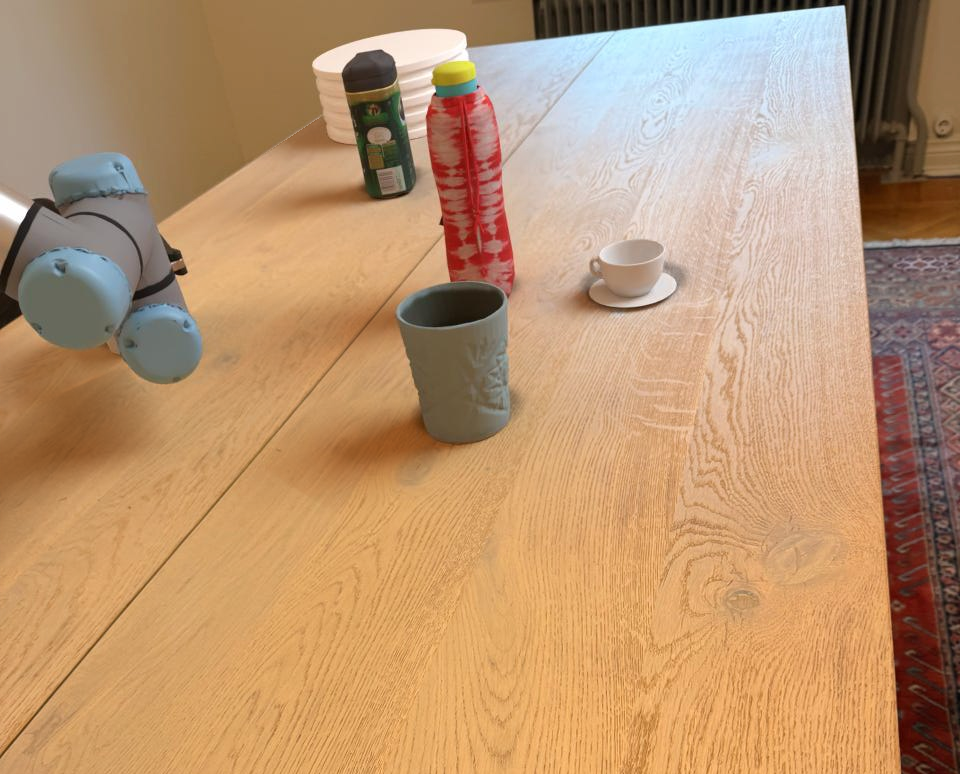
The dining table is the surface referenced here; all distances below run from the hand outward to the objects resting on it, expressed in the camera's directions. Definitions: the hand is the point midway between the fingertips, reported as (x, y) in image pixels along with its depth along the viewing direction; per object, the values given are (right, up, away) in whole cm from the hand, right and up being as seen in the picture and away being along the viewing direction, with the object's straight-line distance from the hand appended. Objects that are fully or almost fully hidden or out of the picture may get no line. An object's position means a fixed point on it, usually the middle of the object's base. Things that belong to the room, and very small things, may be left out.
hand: (104, 238), depth 115 cm
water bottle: (+47, -8, -1) cm, 47 cm away
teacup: (+64, -9, -6) cm, 65 cm away
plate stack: (+31, +48, +61) cm, 84 cm away
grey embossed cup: (+45, -28, -22) cm, 57 cm away
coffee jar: (+32, +21, +33) cm, 51 cm away
